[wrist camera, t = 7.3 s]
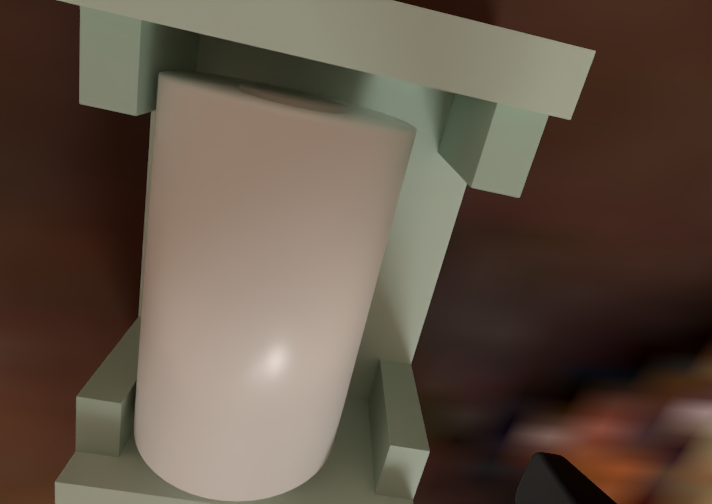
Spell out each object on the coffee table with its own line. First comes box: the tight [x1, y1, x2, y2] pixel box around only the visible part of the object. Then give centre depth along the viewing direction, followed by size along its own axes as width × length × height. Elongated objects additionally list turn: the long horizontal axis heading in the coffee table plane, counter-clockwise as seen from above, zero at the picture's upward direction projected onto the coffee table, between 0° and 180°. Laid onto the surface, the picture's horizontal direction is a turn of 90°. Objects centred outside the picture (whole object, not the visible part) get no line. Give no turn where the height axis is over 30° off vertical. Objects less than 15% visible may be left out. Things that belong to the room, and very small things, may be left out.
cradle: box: [55, 0, 596, 504], centre depth 13 cm, size 13×9×6 cm
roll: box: [134, 71, 417, 501], centre depth 13 cm, size 9×6×6 cm, turn 167°
